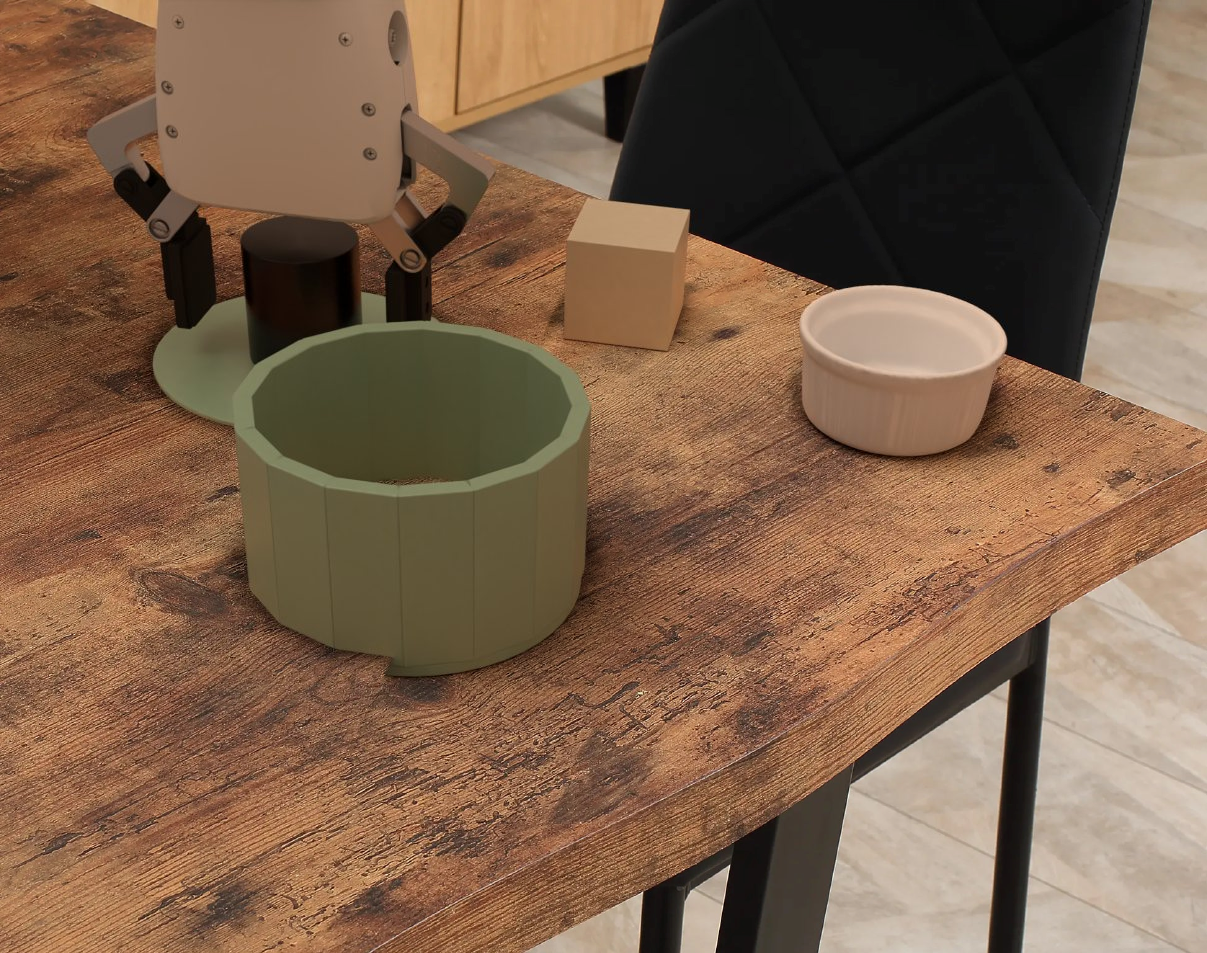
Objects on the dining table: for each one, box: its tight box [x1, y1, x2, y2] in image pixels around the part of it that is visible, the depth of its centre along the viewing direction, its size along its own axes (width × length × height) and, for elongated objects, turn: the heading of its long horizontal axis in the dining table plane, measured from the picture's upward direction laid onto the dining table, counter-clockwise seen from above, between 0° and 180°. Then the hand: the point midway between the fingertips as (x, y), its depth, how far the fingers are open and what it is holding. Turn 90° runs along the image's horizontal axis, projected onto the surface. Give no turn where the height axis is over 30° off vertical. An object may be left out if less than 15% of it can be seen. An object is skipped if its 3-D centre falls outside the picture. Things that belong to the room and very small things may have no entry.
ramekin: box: [798, 284, 1008, 457], centre depth 75 cm, size 9×9×4 cm
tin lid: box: [152, 215, 440, 428], centre depth 76 cm, size 13×13×7 cm
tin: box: [232, 321, 593, 678], centre depth 63 cm, size 12×12×8 cm
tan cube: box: [562, 198, 691, 352], centre depth 82 cm, size 5×5×5 cm
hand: (300, 328), depth 76 cm, fingers open, 9 cm apart
